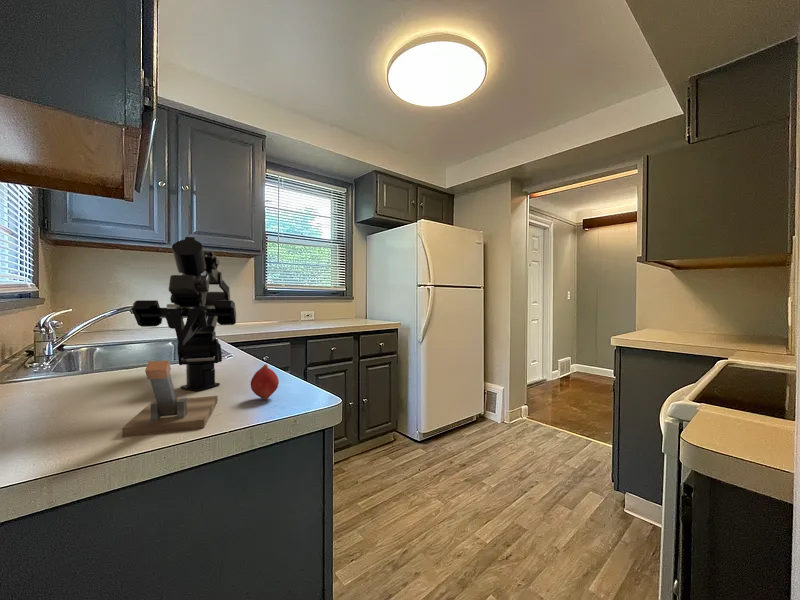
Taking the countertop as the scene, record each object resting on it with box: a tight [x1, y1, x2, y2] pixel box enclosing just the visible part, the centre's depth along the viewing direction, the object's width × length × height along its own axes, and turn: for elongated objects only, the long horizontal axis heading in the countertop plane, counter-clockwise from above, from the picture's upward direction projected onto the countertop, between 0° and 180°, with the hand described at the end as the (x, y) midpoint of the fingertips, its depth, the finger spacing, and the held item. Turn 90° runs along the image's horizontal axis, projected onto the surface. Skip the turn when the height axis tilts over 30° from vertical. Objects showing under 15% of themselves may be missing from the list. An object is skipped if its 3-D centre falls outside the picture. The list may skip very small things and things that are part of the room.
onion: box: [250, 363, 280, 401], centre depth 78 cm, size 6×6×8 cm
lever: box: [144, 360, 177, 416], centre depth 59 cm, size 2×3×12 cm
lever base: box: [121, 395, 219, 438], centre depth 67 cm, size 15×12×4 cm
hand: (180, 344), depth 70 cm, fingers closed
